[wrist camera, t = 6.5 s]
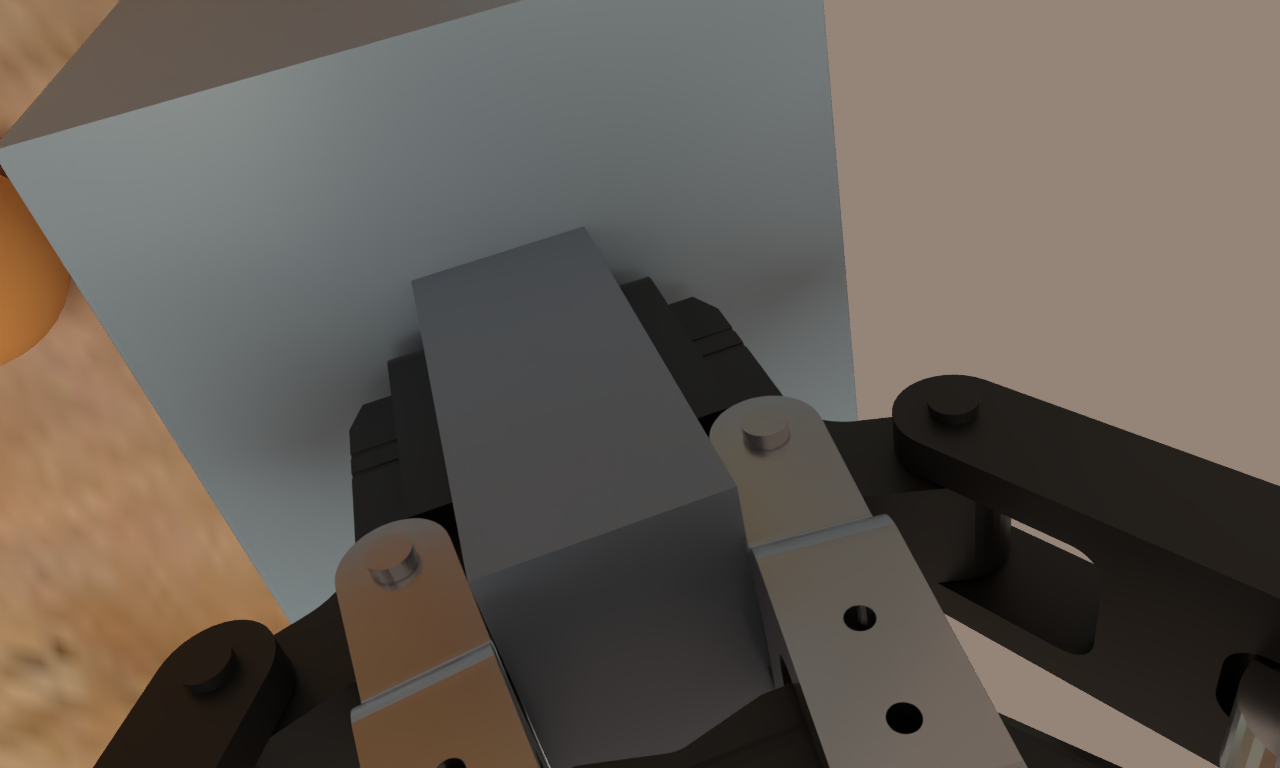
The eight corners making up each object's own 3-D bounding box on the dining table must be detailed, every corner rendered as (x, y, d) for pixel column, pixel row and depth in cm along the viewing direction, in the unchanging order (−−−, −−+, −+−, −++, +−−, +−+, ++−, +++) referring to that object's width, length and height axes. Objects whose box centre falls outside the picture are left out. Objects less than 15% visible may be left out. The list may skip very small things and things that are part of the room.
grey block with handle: (120, 0, 18) (-273, 458, 6) (630, -138, 19) (1156, 15, 7) (328, 417, 24) (341, 1069, 12) (708, 292, 25) (1068, 771, 13)
